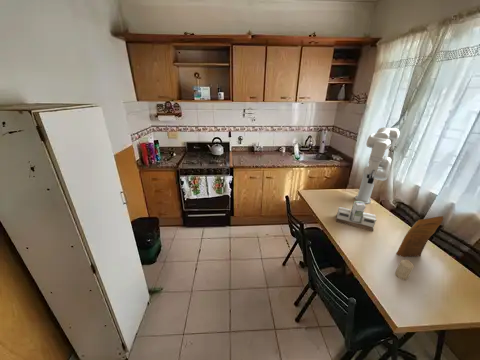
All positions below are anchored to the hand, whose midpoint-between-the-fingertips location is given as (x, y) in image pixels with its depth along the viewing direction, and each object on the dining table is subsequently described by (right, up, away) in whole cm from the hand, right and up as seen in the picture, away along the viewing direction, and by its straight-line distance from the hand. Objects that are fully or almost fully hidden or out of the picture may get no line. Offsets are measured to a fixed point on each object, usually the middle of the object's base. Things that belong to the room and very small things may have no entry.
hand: (369, 180), depth 152 cm
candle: (-8, -51, -41) cm, 66 cm away
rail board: (-10, -31, +2) cm, 33 cm away
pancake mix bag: (+8, -45, -26) cm, 53 cm away
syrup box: (-10, -29, +1) cm, 31 cm away
